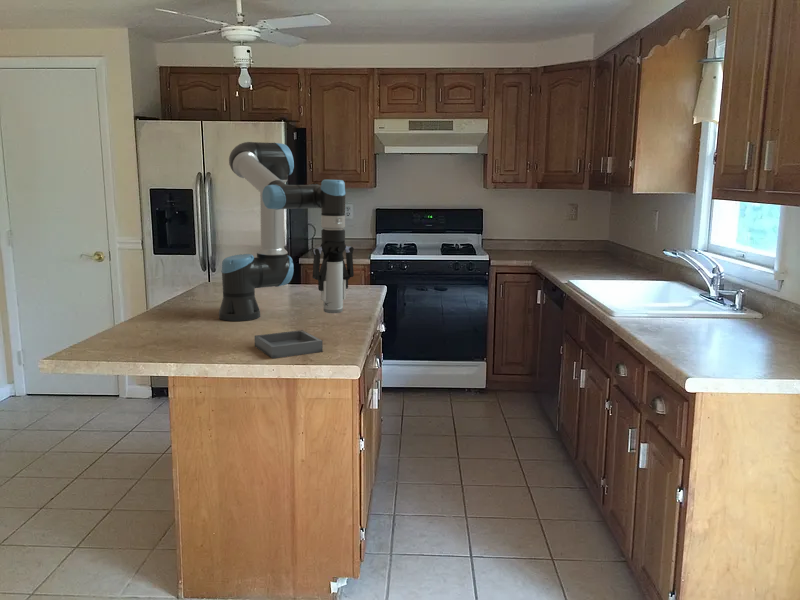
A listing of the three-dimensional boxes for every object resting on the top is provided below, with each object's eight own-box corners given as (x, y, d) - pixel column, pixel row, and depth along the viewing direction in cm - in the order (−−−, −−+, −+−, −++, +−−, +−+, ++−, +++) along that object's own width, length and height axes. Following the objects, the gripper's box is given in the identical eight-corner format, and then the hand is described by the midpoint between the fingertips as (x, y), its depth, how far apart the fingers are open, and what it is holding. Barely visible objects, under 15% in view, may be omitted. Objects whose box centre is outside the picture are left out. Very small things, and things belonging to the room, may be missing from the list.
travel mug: (325, 314, 210) (325, 252, 206) (322, 309, 216) (321, 249, 212) (344, 313, 212) (344, 251, 208) (340, 308, 218) (340, 249, 214)
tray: (254, 346, 205) (254, 335, 204) (302, 340, 213) (302, 330, 212) (272, 358, 192) (272, 347, 191) (322, 351, 200) (322, 340, 199)
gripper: (309, 230, 201) (310, 304, 206) (365, 228, 211) (364, 299, 215) (300, 228, 207) (301, 300, 212) (354, 226, 217) (354, 295, 221)
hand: (333, 299), depth 213 cm, fingers closed on travel mug, 6 cm apart
